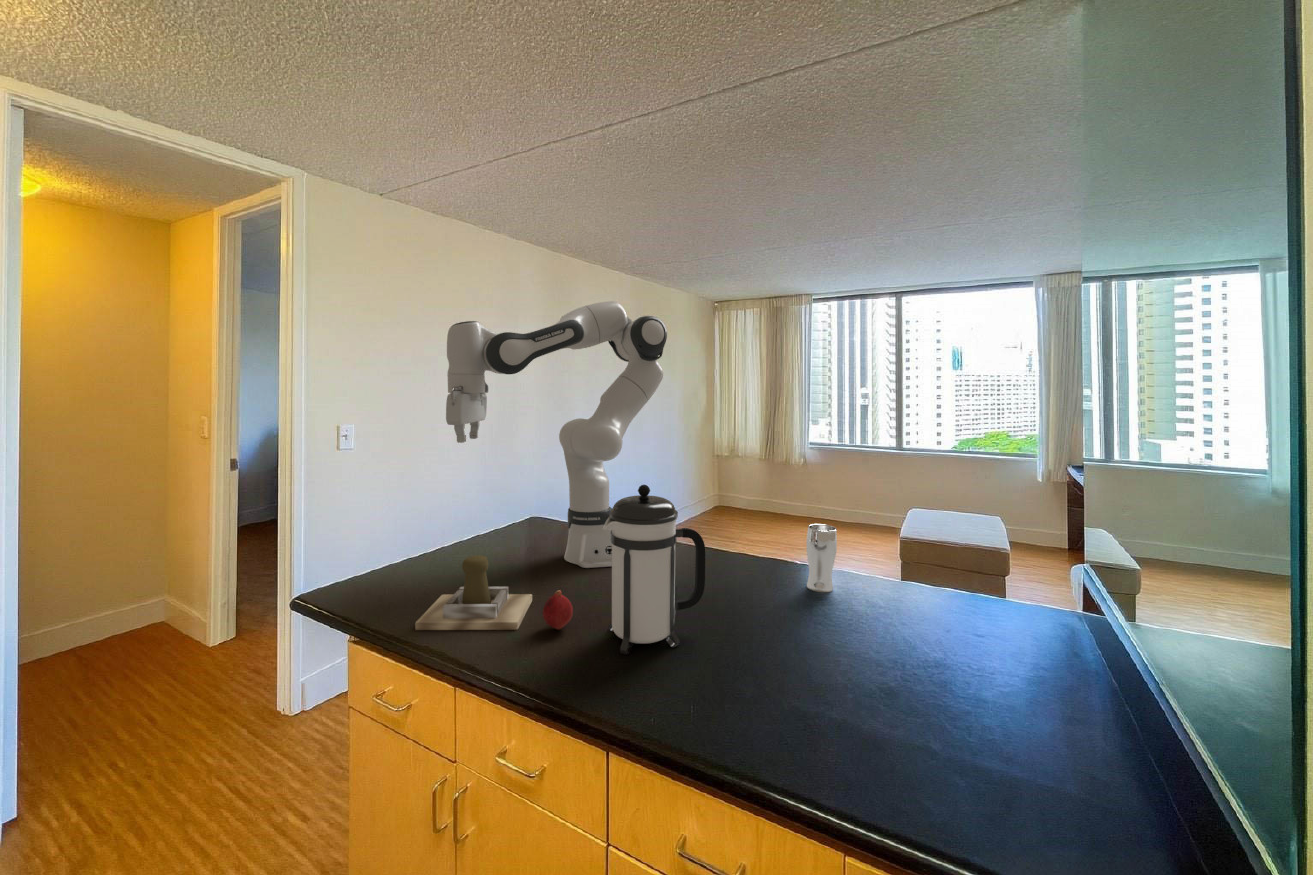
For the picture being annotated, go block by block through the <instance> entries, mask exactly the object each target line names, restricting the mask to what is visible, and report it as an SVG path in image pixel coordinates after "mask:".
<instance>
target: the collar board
mask: <svg viewBox="0 0 1313 875" xmlns="http://www.w3.org/2000/svg"><path fill="white" fill-rule="evenodd" d="M488 587H489V594H490V600H491V604H462V600H463V591H464V586H460V587H459V588H458V589H457V590H456V592H454V594H453V593H452V594H448V593H447V594H441V595H440V596H439V597H438V598H437V599H436V600H435V601H434V603H433V604H431V606H429V608H428V609H427V610H426V611H425V612H424V613H423V614H422V615H421V616H420V617H419V618H418V619H417V620H416V621H415V622H414V626H415V631H468V630H469V631H474V630H475V631H476V630H477V631H482V630H483V631H486V630H488V631H490V630H491V631H492V630H493V631H495V630H497V631H498V630H499V631H500V630H501V631H502V630H503V631H504V630H506V631H508V630H510V631H511V630H518V629H519V628H520V626H521V624H522V622H523V620H524V618H525V616H526V613H527V612H528V610H529V608H530V605H531V603H532V602H533V594H531V593H527V594H526V593H521V594H520V593H516V594H515V593H509V586H488Z"/></svg>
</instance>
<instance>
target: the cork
mask: <svg viewBox="0 0 1313 875" xmlns="http://www.w3.org/2000/svg"><path fill="white" fill-rule="evenodd" d="M461 565H462V567H461V568H462V570H463V573H464V574H465V576H464V584H463V587H464V591H463V600H462V604H491V600H490V594H489V587H490V586H489V582H488V576H487V570H488V569H489V560H488V558H487V556H485V555H480V554H479V555H477V554H475V555H471V556H468V557H465V558H464V560H463V561H462V564H461Z"/></svg>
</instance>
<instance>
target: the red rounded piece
mask: <svg viewBox="0 0 1313 875" xmlns="http://www.w3.org/2000/svg"><path fill="white" fill-rule="evenodd" d="M573 612H574V608H573V605H572V603H571V601H570V599H568V597H566V596H565V595H563V594H562V590H561V589H560V590H557V591H555V593H554V594H553V595H551V596H550V597H549V598H548V599H547V600H546V601H545V604H544V606H543V608H542V619H543V620H544V622H545V623H546V624H547V625H548V626H549V627H551V628H553V629H556V630H557V631H559V630H561V629H563V628H564V627H565V626H566V625H567V624H568V623H569V622H570V621H571V620H572V617H573Z"/></svg>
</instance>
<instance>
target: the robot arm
mask: <svg viewBox="0 0 1313 875" xmlns="http://www.w3.org/2000/svg"><path fill="white" fill-rule="evenodd" d="M447 331H448V332H447V336H446V337H447V338H446V358H447V362H448V370H447V375H446V376H447V392H448V394H447V397H446V404H445V420H446V421H445V422H446V423H447V424H446V425H448V426H453V429H454V432H455V435H456V443H458V444H459V443H461V444H462V443H463V444H464V443H465V442H467V435H466V433H465V429H466V428H465V426H466V424H467V425H468V424H469V426H470V430H469V439H470V440H476V439H478V438H479V429H480V421H485V419H486V416H487V408H488V407H487V404H488V403H487V402H488V396H487V394H488V393H489V385H488V384H487V382H486V380H485V378H486V377H485V372H486V371H488V372H491V373H495V374H499V375H503V374H504V375H516V374H518V373H520V372H522V371H523V370H524V369H525V368H527V367H528V366H529V364H531V362H532V361H534V360H535V359H537V358H540V357H543V356H545V355H548V354H551V353H554V352H556V351H559V350H562V349H571V350H574V351H575V350H581V349H587V348H591V347H594V346H597V345H600V344H603V343H606V342H608V344H609V345H610V346H611V348H612V351H613V352H614V354H615V356H616V357H617V358H618V359H619V360H621V361H624V362H627V365H626V366H625V369H624V370H623V371H622V373H620V374H619V375H618V376H617V378H616V379H615V380H614V381H613V382H612V383H611V385H610V386H609V387H608V388H607V389H606V390H605V391H604V392H603V393H602V395H601V396H600V399H599V401H600V402H599V404H598V406H597V408H596V410H595V411H594V413H593V414H592V416H590V417H589V418H588V419H587V418H575V419H572V420H570V421H568V422H566V423H564V425H563V426H562V427H561V429H560V431H559V433H558V438H559V442H560V446H561V447H562V451H563V455H564V459H565V460H564V461H565V466H566V469H567V470H566V471H567V475H568V484H569V485H568V486H569V488H568V490H569V492H568V493H569V494H568V495H569V508H568V509H567V528H568V534H567V535H568V537H567V542H566V543H567V544H566V549H565V553H564V556H563V559H564V560H565V561H566V562H569V563H571V564H574V565H578V566H579V567H581V568H583V569H584V568H585V569H590V568H606V567H612V543H611V530H603V527H604V524H605V522H606V521H607V519H608V518H609V516H610V511H611V510H612V509H613V507H611V506H610V481H609V479H610V478H609V477H608V475H607V473H606V471H605V468H604V467H605V466H604V464H603V463H604V462H608V461H611V460H613V459H615V458H616V457H618V455H619V454H621V453H620V452H621V450H622V449H623V448H622V447H623V438H624V436H625V434H626V432H627V429H628V427H629V426H630V424H631V423H632V421H633V420H634V418H635V417H636V416H637V415H638V414H639V412H640V411H641V410H642V409H643V407H645V405H646V404H647V403H648V402H649V400H650V399H651V398H652V396H653V395H654V394H655V392H657V389H658V388H659V387H660V384H661V382H662V381H663V379H664V370H663V368H662V366H661V364H660V363H659V362H658V360H659V359H661V357H662V356H663V353H664V348H665V346H666V342H667V339H668V330H667V327H666V324H665V323H664V322H663V321H662V320H661V319H660V318H658V317H656V316H653V315H643V316H640V317H638V318H637V319H634V320H632V319H630V317H629V316H628V315H627V312H626V310H625V307H624V306H623V305H622V304H620V303H619V302H617V301H613V300H612V301H611V300H610V301H603V302H596V303H591V304H587V305H584V306H581V307H578V308H575V309H573V310H571V311H569V312H567V313H565V314H563V315H562V316H561V317H560V319H559V321H557V322H556V323H555V324H552V325H550V326H547V327H543V328H540V329H537V330H534V331H531V332H527V333H517V332H511V331H509V332H505V331H504V332H501V333H496V332H494V331H492V330H491V329H489V328H487V327H486V326H485V325H483V324H481V322H480V321H476V320H475V321H474V320H466V321H460V322H456V323H454V324H452V325H451V326H450V328H448V330H447Z"/></svg>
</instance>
